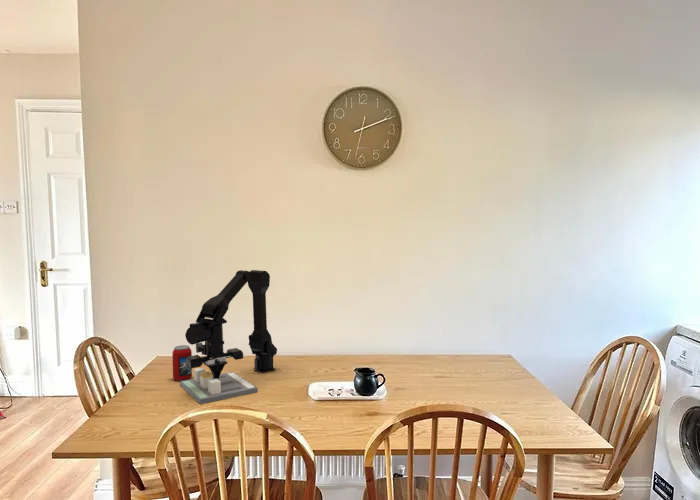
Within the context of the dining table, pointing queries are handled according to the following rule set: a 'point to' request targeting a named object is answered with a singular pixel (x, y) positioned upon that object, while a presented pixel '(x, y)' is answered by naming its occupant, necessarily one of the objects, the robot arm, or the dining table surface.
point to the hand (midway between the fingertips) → (216, 381)
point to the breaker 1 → (198, 374)
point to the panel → (229, 388)
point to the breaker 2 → (214, 386)
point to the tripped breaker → (205, 379)
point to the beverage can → (181, 363)
